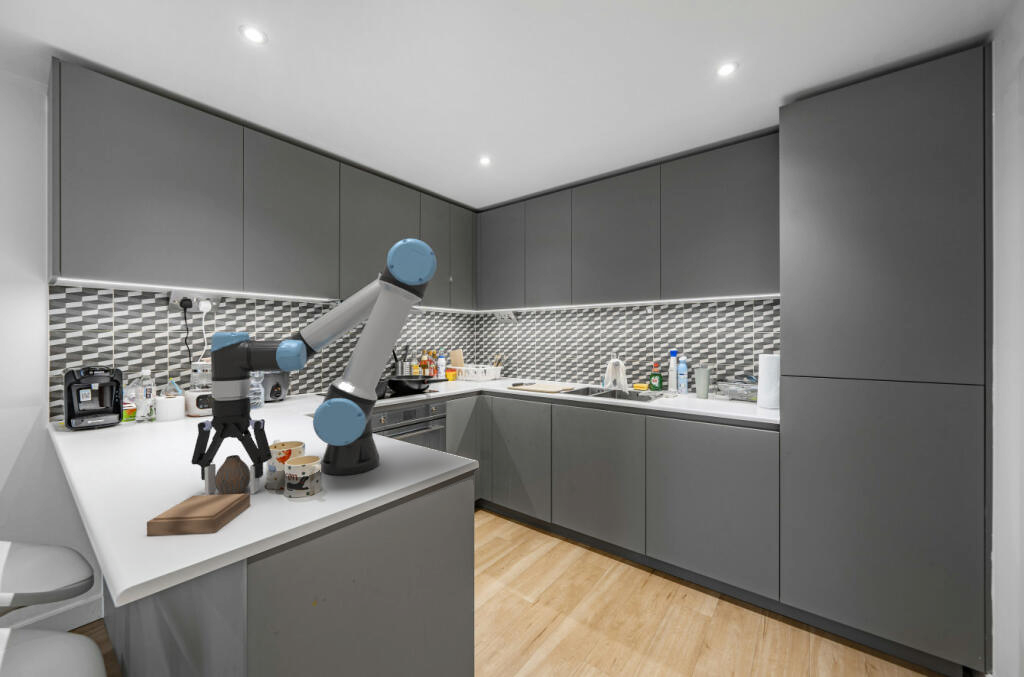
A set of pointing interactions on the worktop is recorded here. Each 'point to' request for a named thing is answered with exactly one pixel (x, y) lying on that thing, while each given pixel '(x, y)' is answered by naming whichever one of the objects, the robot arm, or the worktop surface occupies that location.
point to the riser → (199, 515)
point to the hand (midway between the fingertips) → (232, 492)
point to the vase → (232, 476)
